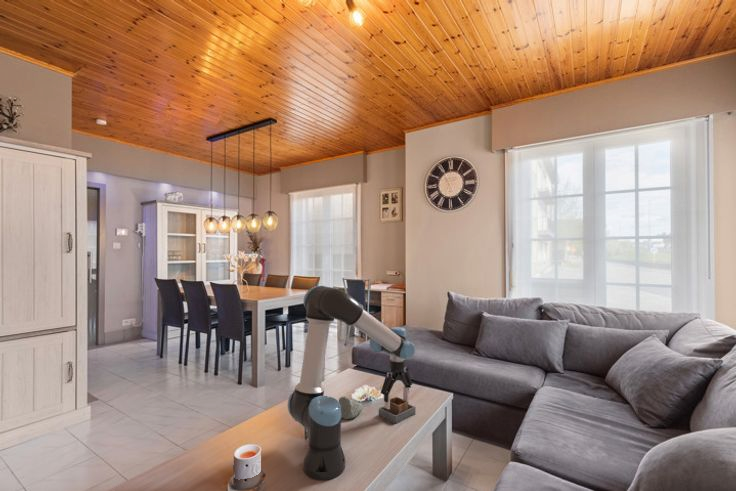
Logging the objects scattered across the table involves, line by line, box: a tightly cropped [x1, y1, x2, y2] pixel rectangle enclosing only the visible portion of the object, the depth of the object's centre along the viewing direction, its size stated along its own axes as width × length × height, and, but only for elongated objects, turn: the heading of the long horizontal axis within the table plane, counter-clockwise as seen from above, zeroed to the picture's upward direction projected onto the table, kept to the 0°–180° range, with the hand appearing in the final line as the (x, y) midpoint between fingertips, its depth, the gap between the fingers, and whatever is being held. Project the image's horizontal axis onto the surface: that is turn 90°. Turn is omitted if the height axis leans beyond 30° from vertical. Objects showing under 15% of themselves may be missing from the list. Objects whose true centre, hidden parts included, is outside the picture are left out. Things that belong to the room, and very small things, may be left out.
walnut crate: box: [386, 396, 409, 415], centre depth 166 cm, size 7×8×6 cm
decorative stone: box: [338, 396, 364, 420], centre depth 165 cm, size 13×11×10 cm
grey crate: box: [378, 403, 417, 425], centre depth 166 cm, size 14×11×4 cm
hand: (396, 404), depth 166 cm, fingers open, 13 cm apart
